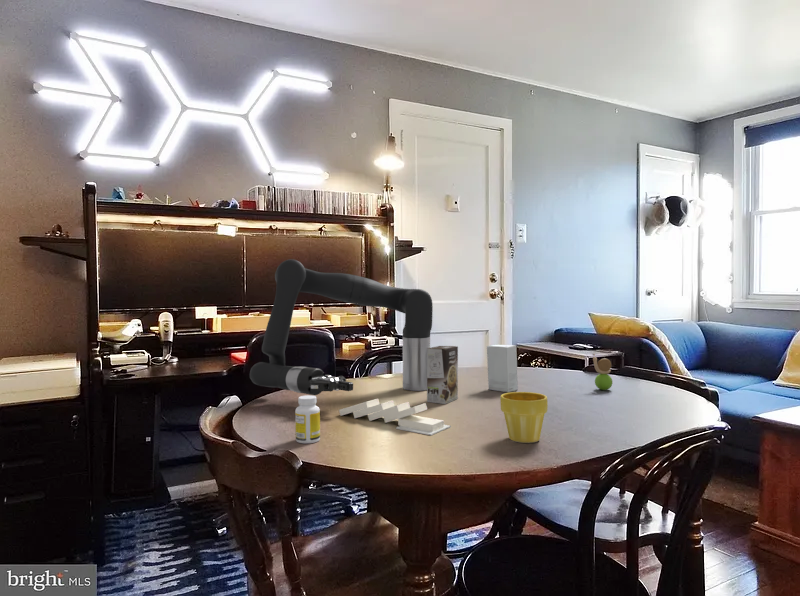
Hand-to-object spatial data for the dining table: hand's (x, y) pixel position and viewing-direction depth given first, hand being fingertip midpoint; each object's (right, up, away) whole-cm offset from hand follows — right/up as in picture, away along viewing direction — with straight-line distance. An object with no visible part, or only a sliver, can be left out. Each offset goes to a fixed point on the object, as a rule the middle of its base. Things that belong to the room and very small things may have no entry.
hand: (351, 386), depth 144 cm
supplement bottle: (-8, -8, -24) cm, 26 cm away
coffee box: (+26, -7, +18) cm, 32 cm away
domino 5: (+14, -7, -10) cm, 18 cm away
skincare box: (+47, -7, +33) cm, 58 cm away
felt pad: (+19, -8, -13) cm, 24 cm away
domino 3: (+6, -7, -4) cm, 10 cm away
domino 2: (+2, -7, -1) cm, 7 cm away
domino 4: (+11, -7, -7) cm, 14 cm away
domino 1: (-2, -7, +1) cm, 7 cm away
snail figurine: (+79, -7, +33) cm, 86 cm away
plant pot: (+41, -8, -23) cm, 48 cm away
